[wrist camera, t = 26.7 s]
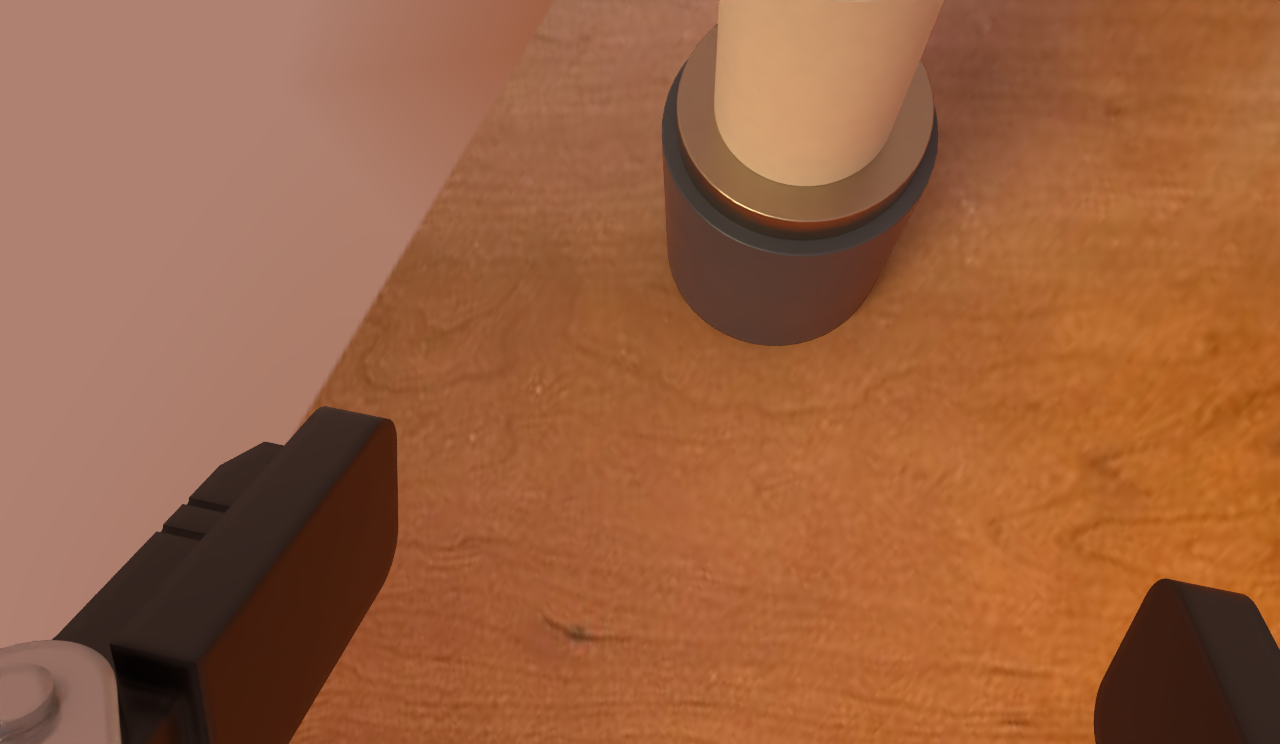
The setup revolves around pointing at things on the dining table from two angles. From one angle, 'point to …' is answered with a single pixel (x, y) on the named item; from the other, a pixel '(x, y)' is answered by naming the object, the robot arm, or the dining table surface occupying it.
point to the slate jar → (781, 218)
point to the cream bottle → (815, 81)
